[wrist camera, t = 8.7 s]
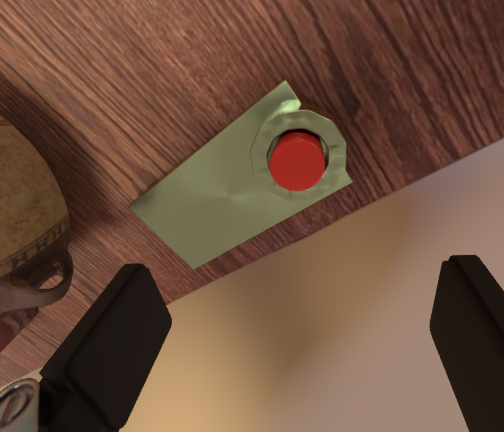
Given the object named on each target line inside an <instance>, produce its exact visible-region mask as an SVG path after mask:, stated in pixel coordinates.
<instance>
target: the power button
mask: <svg viewBox="0 0 504 432" xmlns="http://www.w3.org/2000/svg"><path fill="white" fill-rule="evenodd" d="M269 169H270V173H271V176H272V178H273V179H274V181H275V182H276V183H277V184H278V185H279V186H281V187H283V188H285V189H287V190H291V191H303V190H306V189H309V188H311V187H312V186H314V185H315V184H316V183H317V182H318V181H319V180H320V179H321V177H322V175H323V173H324V169H325V161H324V152H323V148H322V146H321V144H320V143H319V141H318V140H317V139H316V138H315V137H313V136H312V135H310V134H307V133H304V132H293V133H289V134H287V135H285V136H283V137H282V138H281V139H279V140H278V142H277V143H276V144H275V146H274V148H273V151H272V154H271V158H270V162H269Z"/></svg>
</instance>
